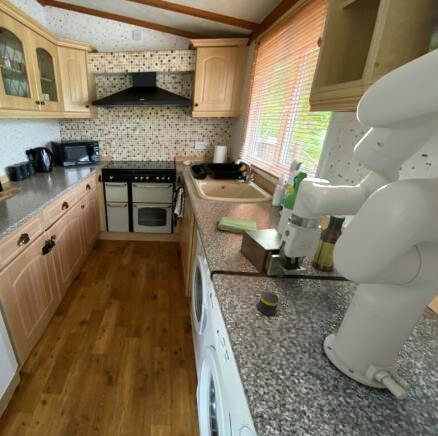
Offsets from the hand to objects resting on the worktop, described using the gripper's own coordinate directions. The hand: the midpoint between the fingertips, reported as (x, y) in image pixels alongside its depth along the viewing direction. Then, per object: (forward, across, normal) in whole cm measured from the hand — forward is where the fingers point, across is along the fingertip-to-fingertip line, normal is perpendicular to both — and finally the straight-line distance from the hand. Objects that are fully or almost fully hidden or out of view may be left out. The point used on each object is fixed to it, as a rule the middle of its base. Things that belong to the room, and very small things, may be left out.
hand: (289, 271), depth 79 cm
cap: (+3, -15, -11) cm, 19 cm away
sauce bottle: (+4, +18, +6) cm, 19 cm away
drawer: (+3, 0, +6) cm, 7 cm away
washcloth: (+4, +3, +41) cm, 41 cm away
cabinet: (+4, 0, +13) cm, 13 cm away
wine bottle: (+4, +18, +26) cm, 31 cm away
